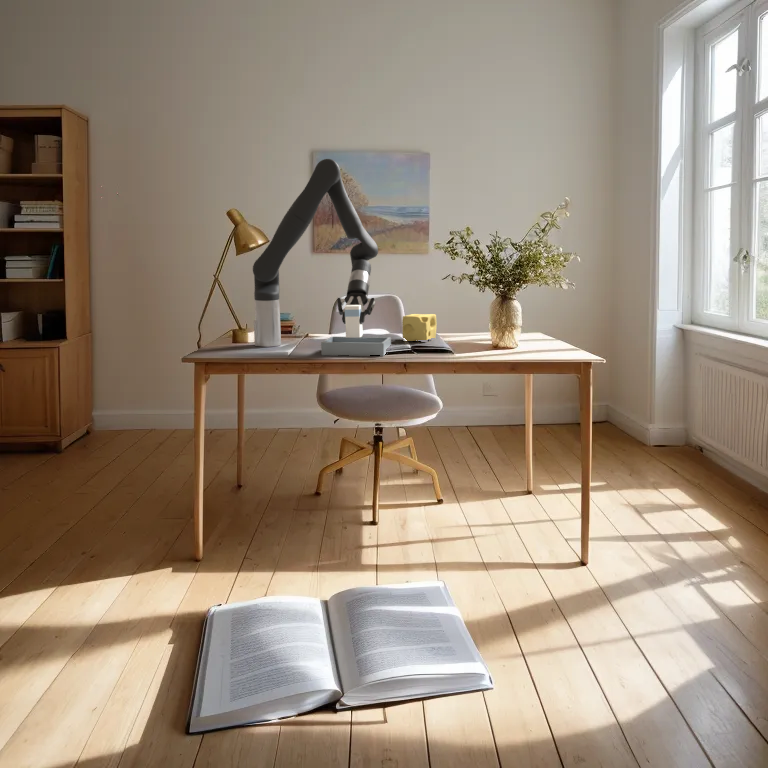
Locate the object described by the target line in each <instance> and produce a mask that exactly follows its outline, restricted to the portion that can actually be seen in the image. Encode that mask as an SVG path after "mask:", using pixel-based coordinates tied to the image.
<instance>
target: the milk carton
mask: <svg viewBox="0 0 768 768" xmlns="http://www.w3.org/2000/svg"><path fill="white" fill-rule="evenodd" d="M344 308H345V324H344V325H345V326H344V327H345V337H346V338H360V337H364V336H363V334H364V333H363V323H362V324H360V322H359V319H360V313H361V305H346V304H345V305H344Z"/></svg>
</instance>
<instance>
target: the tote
mask: <svg viewBox="0 0 768 768" xmlns="http://www.w3.org/2000/svg"><path fill="white" fill-rule="evenodd" d="M391 339H392V337H391V336H361V337H360V338H346V336H330V337H328V338H326V339H325V340H322V341H321V343H320V344H321V345H320V346H321V349H320V350H321V356H338V355H349V356H348V357H351V356H352V357H354V356H355V357H356V356H358V357H371V356H370V355H380V356H379V357H385V356H386V355H387V354H386V349H387V348H388V347H389V346H390V345H391V346H392V340H391ZM385 354H386V355H385ZM384 355H385V356H384Z"/></svg>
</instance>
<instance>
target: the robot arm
mask: <svg viewBox="0 0 768 768" xmlns="http://www.w3.org/2000/svg"><path fill="white" fill-rule="evenodd" d="M342 179H343V178H342V173H341V169H340V166H339V164H338V162H336V161H335V160H334V159H332V158H324V159H322V160H320V161H318V163H317V164H316V166H315V168H314V170H313V172H312V174H311V176H310V178H309V180H308V182H307V183H306V185H305V187H304V188H303V190H302V191H301V193H299V195H298V196H297V197H296V199H295V200H294V202H293V203H292V204H291V205H290V207H289V209H288V210H287V211H286V213H285V215H284V216H283V218H282V219H281V221H280V223H279V225H278V226H277V228H276V231H275V233H274V234H273V237H272V238H271V241H270V243H269V244H268V245H267V247H266V248H265V249H264V251H263V252H262V253H261V254H260V256H258V258H257V259H256V260H255V261H254V263H253V265H252V274H253V278H254V293H253V294H254V296H253V297H254V312H255V313H254V314H255V317H254V318H255V319H254V320H253V336H254V337H253V338H254V346H256V347H264V348H265V347H268V348H269V347H278V346H282V338H281V337H282V334H281V305H280V267H281V265H282V264H283V261H284V260H285V258H286V256H287V255H288V253H289V252H290V250H291V249H293V247H294V246H295V245H296V244H297V243H298V241H299V240H300V239H301V238H302V236H304V235H303V234H305V232H306V230H307V229H308V227H309V226H310V224H311V223H312V221H313V219H314V216H315V215H316V213H317V211H318V208H319V206H320V204H321V202H322V200H323V198H324V197H325V195H326V194H327V195H328V196H329V198H330V200H331V202H332V204H333V208H334V209H335V212H336V215H337V217H338V221H339V222H340V224H341V227H342V229H343V231H344V233H345V236H346V237H347V238H348V239H349V240H353V239H354V240H355V239H357V240H359V241H360V243H358V244H355V245H354V246H352V247H351V249H350V250H349V251H350V253H349V255H350V260H351V262H350V263H351V272H350V276H349V279H348V284H347V285H348V286H347V290H346V291H347V292H346V295H345V297H344V298H340V297H337V299H336V300H337V309H338V313H339V315H340V316H342V317H341V321H342V323H343V325H345V307H344V308H343V305H344V303H345V306H346V305H361V313H360V319H359V322H360V324H362V325H363V323H365V318H366V316H368V315H369V316H370V315H372V312H373V310H374V307H375V305H376V300H375V298H374V297H371V298H368V296H369V291H370V290H369V289H370V283H371V282H370V281H371V273H372V264H371V263H370V260H372V259H374V258H376V257H377V256H378V255H379V247H378V244H377V243H376V241H375V239H373V238H372V237H371V235H370V234H369V233H368V232H367V230H366V228H364V226H363V224H362V221H361V219H360V217H359V214H358V213H357V210H356V209H355V206H354V205H353V203H352V201H351V199H350V198H349V195H348V193H347V191H346V188H345V186H344V182H343V180H342ZM367 304H368V305H367ZM366 305H367V307H366V309H365V307H364V306H366Z"/></svg>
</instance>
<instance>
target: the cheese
mask: <svg viewBox="0 0 768 768" xmlns="http://www.w3.org/2000/svg"><path fill="white" fill-rule="evenodd" d="M401 321H402V322H401V324H402V330H401V331H402V339H403V338H405V339H406V340H407V341H416V340H417V341H418V340H428V339H431V338H435V339H436V336H437V328H438V327H437V326H438V325H437V314H435V313H429V314H427V313H424V314H421V313H412V314H407V315H404V316H402V320H401ZM407 341H406V342H407Z"/></svg>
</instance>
